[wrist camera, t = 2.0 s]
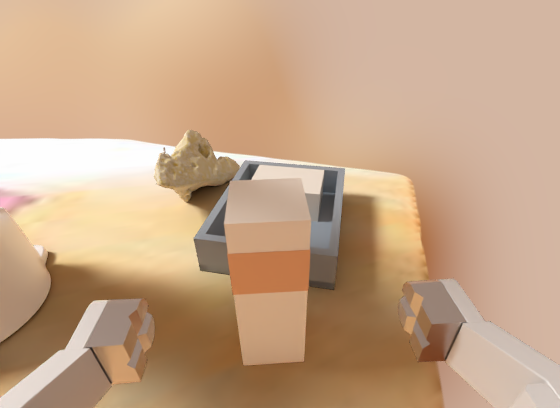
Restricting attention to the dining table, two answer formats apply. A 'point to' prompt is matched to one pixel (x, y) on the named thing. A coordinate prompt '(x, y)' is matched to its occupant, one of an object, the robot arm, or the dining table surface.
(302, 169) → the white rectangular block
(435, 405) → the dining table surface
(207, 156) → the beige rock
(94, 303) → the robot arm
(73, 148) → the dining table surface
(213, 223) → the tote
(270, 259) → the juice carton
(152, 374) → the dining table surface
